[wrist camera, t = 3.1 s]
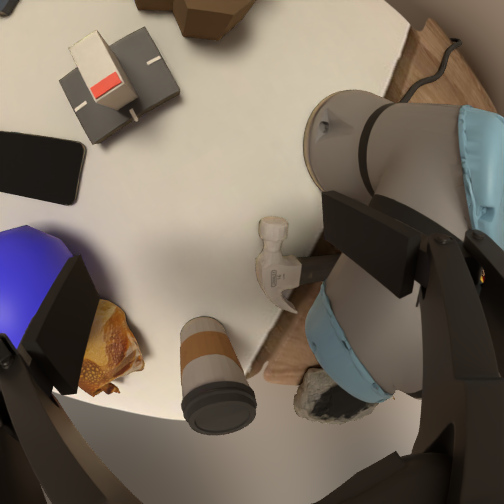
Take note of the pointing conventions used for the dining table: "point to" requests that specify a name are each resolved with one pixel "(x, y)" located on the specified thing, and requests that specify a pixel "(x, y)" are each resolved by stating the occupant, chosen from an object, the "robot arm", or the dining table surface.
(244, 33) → the dining table surface
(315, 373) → the stone
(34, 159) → the smartphone
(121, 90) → the timer knob
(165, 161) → the dining table surface
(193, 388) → the coffee cup
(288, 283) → the hammer
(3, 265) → the bomb
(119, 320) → the seashell
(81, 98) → the panel
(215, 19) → the candle
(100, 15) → the dining table surface
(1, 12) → the stop housing
